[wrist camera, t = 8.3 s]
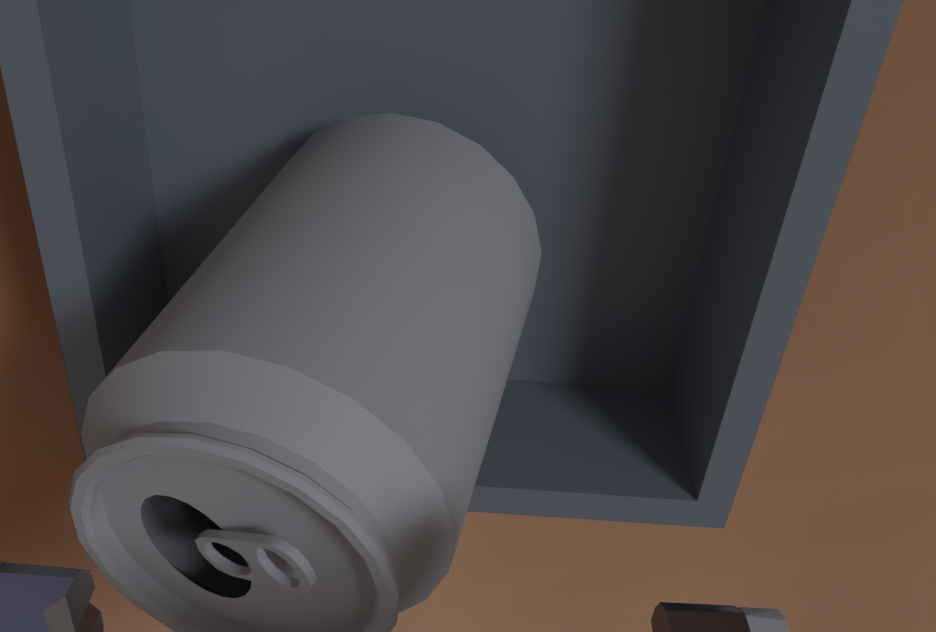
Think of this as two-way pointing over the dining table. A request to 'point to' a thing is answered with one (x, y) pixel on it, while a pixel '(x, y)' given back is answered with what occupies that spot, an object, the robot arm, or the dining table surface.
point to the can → (316, 391)
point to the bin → (521, 153)
